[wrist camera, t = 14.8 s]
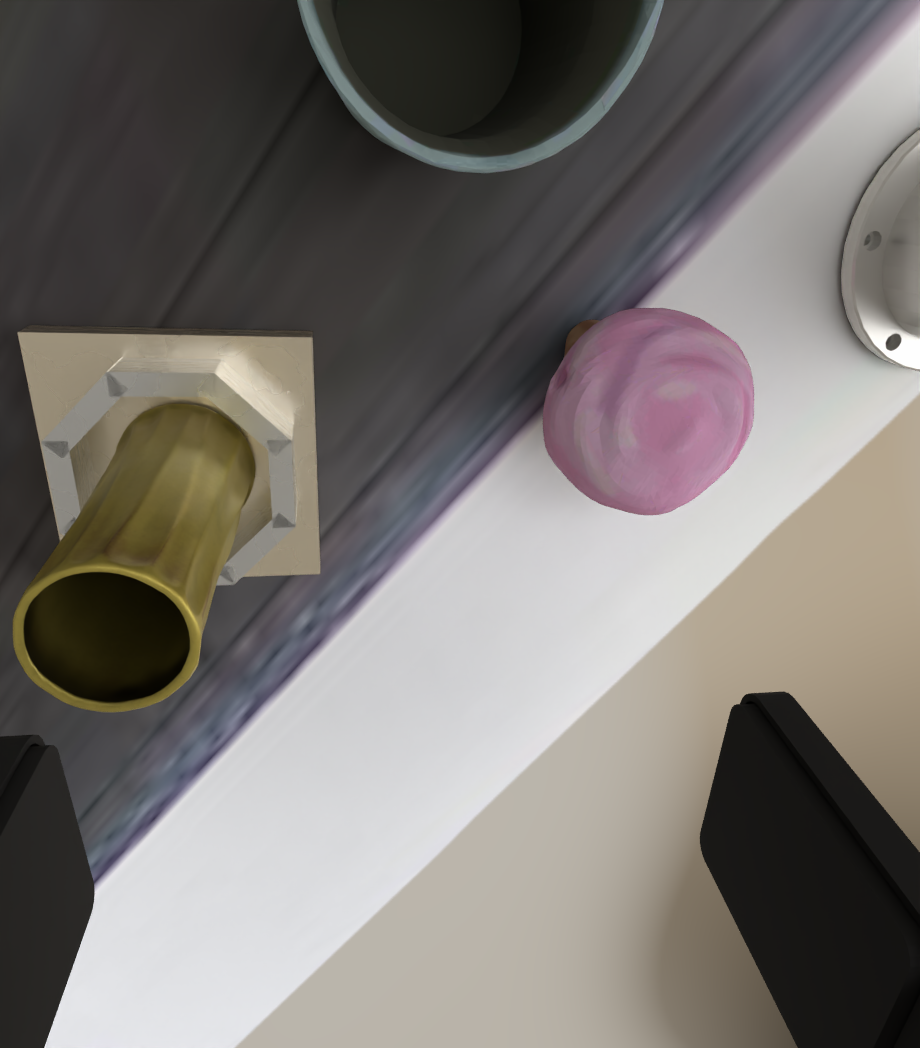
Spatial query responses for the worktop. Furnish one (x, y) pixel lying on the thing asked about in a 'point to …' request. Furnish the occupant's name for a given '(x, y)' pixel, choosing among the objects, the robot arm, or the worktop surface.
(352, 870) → the worktop surface
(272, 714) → the worktop surface
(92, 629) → the vase
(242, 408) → the ring stand
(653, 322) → the cupcake
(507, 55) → the blue-green cup
